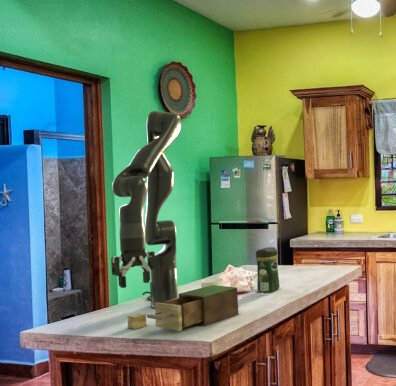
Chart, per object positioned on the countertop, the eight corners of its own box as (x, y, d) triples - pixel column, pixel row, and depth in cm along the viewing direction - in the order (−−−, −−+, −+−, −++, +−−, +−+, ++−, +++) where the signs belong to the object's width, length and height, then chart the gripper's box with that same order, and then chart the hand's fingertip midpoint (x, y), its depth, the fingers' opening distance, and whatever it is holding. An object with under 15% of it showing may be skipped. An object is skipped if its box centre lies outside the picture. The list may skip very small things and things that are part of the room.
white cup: (217, 309, 180) (215, 282, 180) (198, 309, 182) (196, 282, 182) (228, 303, 188) (226, 278, 188) (209, 303, 189) (208, 278, 189)
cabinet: (205, 325, 159) (203, 296, 159) (179, 321, 165) (178, 293, 165) (238, 314, 172) (237, 287, 171) (213, 311, 178) (212, 285, 178)
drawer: (166, 335, 147) (165, 309, 147) (143, 330, 153) (141, 306, 153) (213, 319, 163) (212, 296, 163) (190, 316, 168) (189, 293, 168)
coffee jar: (266, 287, 215) (264, 246, 215) (282, 288, 213) (280, 246, 212) (254, 292, 206) (252, 249, 206) (270, 293, 204) (268, 249, 203)
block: (127, 327, 160) (127, 315, 160) (139, 324, 164) (138, 312, 164) (135, 329, 158) (134, 317, 158) (146, 325, 162) (145, 313, 162)
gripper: (118, 238, 152) (121, 290, 153) (159, 233, 165) (161, 281, 165) (104, 238, 156) (107, 288, 156) (145, 233, 168) (147, 280, 169)
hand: (135, 285), depth 161 cm, fingers open, 7 cm apart
